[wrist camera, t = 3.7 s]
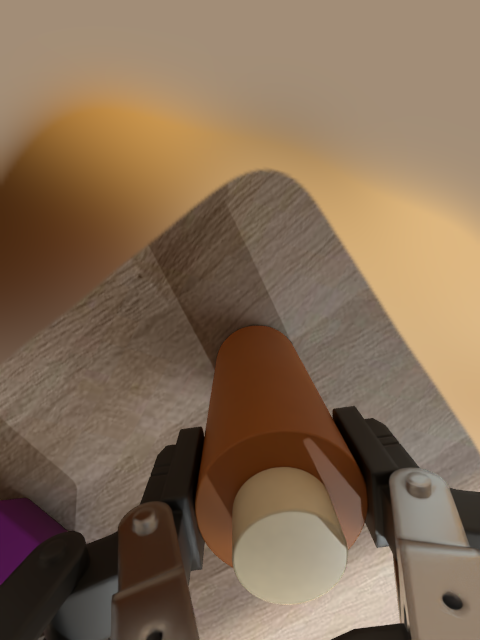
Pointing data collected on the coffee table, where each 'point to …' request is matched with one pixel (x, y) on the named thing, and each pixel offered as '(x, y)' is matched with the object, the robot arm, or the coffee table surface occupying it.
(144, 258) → the coffee table surface
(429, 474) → the robot arm
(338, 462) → the amber bottle
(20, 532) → the perfume bottle
